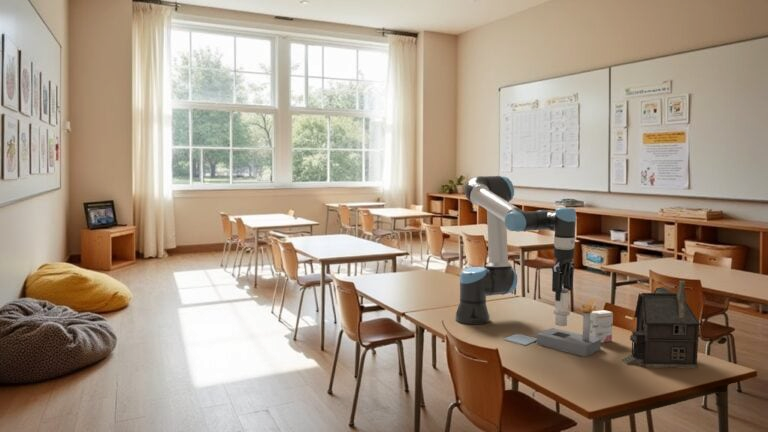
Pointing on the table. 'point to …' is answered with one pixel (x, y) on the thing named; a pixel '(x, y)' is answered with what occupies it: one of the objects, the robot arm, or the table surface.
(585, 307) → the wooden lever
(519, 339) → the mat
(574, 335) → the socket
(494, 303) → the table surface
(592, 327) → the ink box
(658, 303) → the model house
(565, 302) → the plug
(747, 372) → the table surface
